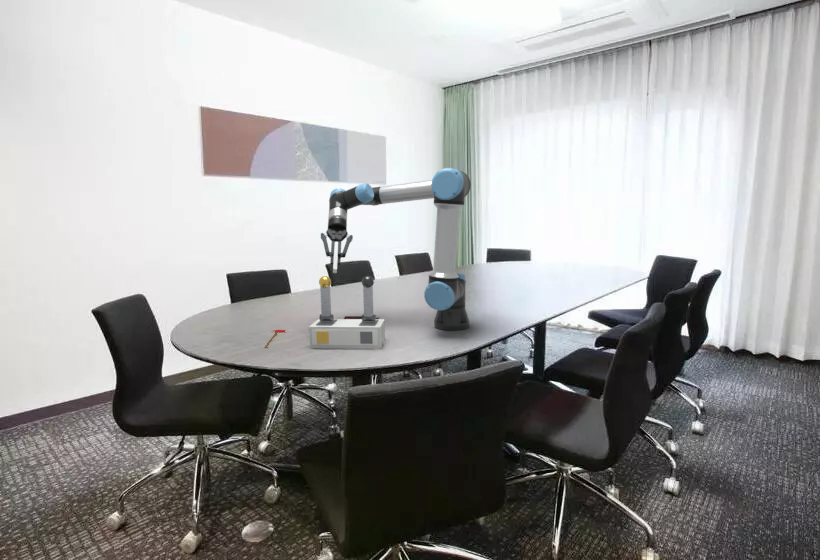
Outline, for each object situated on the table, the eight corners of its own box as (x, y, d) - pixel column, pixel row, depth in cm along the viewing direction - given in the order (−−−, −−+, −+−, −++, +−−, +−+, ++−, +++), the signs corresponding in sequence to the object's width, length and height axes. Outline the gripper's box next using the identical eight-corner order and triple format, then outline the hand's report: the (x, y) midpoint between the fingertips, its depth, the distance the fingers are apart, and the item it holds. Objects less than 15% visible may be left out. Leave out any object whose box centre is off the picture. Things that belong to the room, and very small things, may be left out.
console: (385, 339, 171) (384, 318, 170) (380, 349, 159) (379, 326, 158) (319, 338, 173) (318, 318, 172) (309, 348, 161) (308, 326, 160)
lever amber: (334, 319, 168) (332, 275, 165) (331, 322, 163) (329, 277, 161) (322, 319, 168) (320, 275, 166) (318, 322, 164) (316, 277, 161)
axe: (293, 331, 187) (271, 331, 188) (293, 329, 187) (271, 328, 188) (267, 350, 162) (241, 349, 163) (267, 347, 162) (241, 347, 163)
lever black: (376, 319, 166) (375, 275, 164) (374, 322, 162) (373, 276, 160) (363, 319, 167) (362, 275, 164) (361, 322, 162) (360, 276, 160)
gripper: (353, 228, 185) (351, 277, 173) (321, 226, 183) (317, 275, 171) (354, 217, 178) (352, 266, 166) (321, 215, 176) (317, 264, 164)
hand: (334, 271), depth 169 cm, fingers closed
